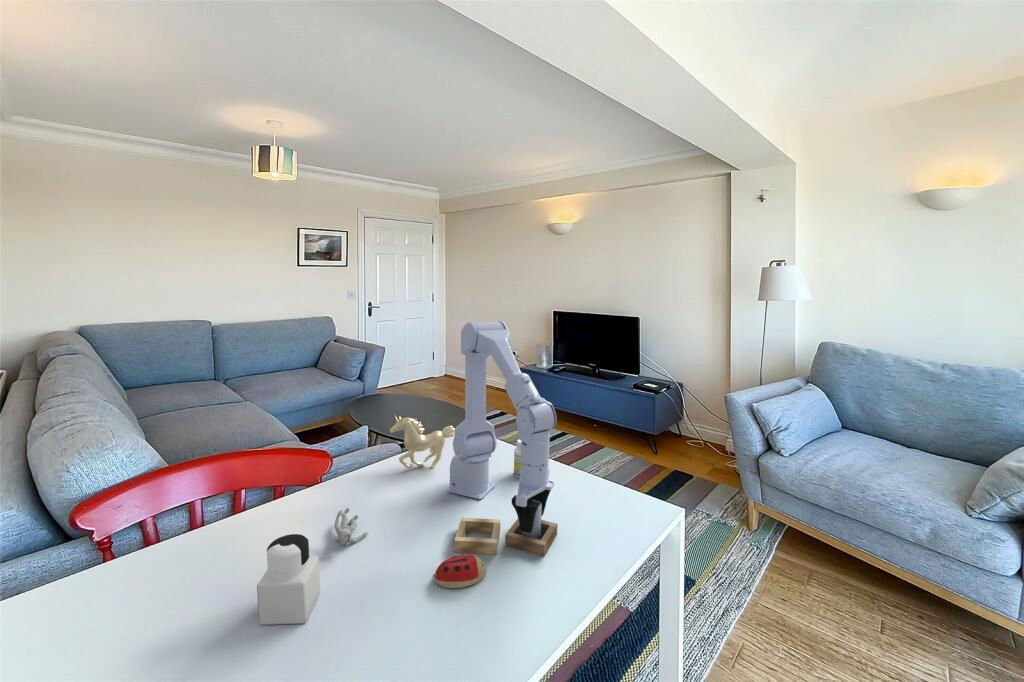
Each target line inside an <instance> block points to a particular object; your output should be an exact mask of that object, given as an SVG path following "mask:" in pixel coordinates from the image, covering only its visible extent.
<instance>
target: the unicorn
mask: <svg viewBox="0 0 1024 682" xmlns="http://www.w3.org/2000/svg"><path fill="white" fill-rule="evenodd" d="M393 416H394V418H395V424H394V425H392V427H390V429H389V432H390V434H394V433H395V432H397V431H402V430H403V432H404V435H403V436H404V439H403V444H404V448H406V449H407V450H408V451H407V452H406V453H405V454H402V455H401V456H399V458H398V461H399V463H401V464H402V465H403V466H404V467H405V468H406V469H412V468H414V467H415V466H414V465H416V466H417V467H424V466H425V465H424V463H425V462H427V461H428V460H430V459H431V458H433V457H435V459H434V460H433V461H432V463H431V465H430V469H434V468H436V467H435V466H436V465H437V464H438V463H439V462H440V460H441V458H442V452H443V449H444V447H445V444H446V439H447V438H452V437H453V438H454V436H455V428H456V427H454V426H453V425H447V426H445V427H443V429H441V431H440V430H434V431H432V432H431V433H429V434H423V433H424V432H425V430H426V429H425V428H423V427H424V425H423V424H422V421H417V419H418V418H417V417H416V418H411V417H401V416H399V418H397V416H396V413H393ZM426 450H429V452H430V454H428V455H427V456H426V457H425V458H424V460H423V463H422V462H418V461H415V455H414V454H415V453H420V452H424V451H426ZM407 458H409V459H410V462H411V463H412V464H411V463H409V464H408V463H406V461H404V460H405V459H407Z"/></svg>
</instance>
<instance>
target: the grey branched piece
mask: <svg viewBox="0 0 1024 682" xmlns="http://www.w3.org/2000/svg"><path fill="white" fill-rule="evenodd" d="M349 512H350V508H349V507H346V508H345V510H343V509H342V510H341V509H340V510H339V511H338V512H337V515H336V516H335V521H334V526H333V527H334V530H335V533H336V535H337V536H338V538H337V539H336V540H335V542H337V543H338V544H340V545H341V546H342V547H343V549H345V548H346V547H347V544H356V543H358V542H360V541H361V540H363V539H364V538H366V537H367V536H368V534H369V532H368V531H365V532H364V533H363V534H362V535H360V536H357V537H355V538H354V537H353V533H354V530H355V529H356V528H357V526H358V524H357V522H356V521H357V520H358V517H359V515H358V514H356V515H354V516H353V517H352V518H351V519H350V520H349V522H348V516H347V514H348V513H349ZM340 518H341V520H340ZM340 521H341V522H340ZM348 523H350V525H349V526H348Z"/></svg>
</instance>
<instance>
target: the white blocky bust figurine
mask: <svg viewBox="0 0 1024 682" xmlns="http://www.w3.org/2000/svg"><path fill="white" fill-rule="evenodd" d="M309 545H310V543H309V539H308V538H307V536H305V535H303V534H298V533H293V534H286V535H283V536H280V537H278V538H276V539H274V540H273V541H272V542H271V543H270V544H269V545H268V546H267V548H266V560H267V561H266V562H267V570H266V571H265V572H264V574H263V576H262V577H261V578H260V580H259V581H258V583H257V584H256V592H257V593H256V594H257V606H258V618H259V619H258V622H259V625H261V626H271V625H272V626H273V625H274V626H275V625H295V624H296V625H297V624H306V623H307V622H308V619H309V617H310V615H311V613H312V611H313V609H314V607H315V605H316V603H317V600H318V598H319V596H320V594H321V578H320V557H319V556H318V555H310V546H309Z"/></svg>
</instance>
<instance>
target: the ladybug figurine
mask: <svg viewBox="0 0 1024 682" xmlns="http://www.w3.org/2000/svg"><path fill="white" fill-rule="evenodd" d="M486 574H487V567H486V564H485V562H484V561H483V559H482V558H481V557H479V556H477V555H474V554H471V553H468V554H467V553H466V554H465V553H464V554H458V555H453V556H450V557H449V558H447V559H445V560H444V561H442V562H441V563H440V564H439V565H438V566H437V568H436V570H435V573H433V575H432V578H433V580H434V582H435V583H436V584H437V585H438V586H440V587H442V588H446V589H460V588H462V589H463V588H468V587H469V586H473V585H475V584H477V583H479V582H481V580H483V579H484V578H485V577H486Z"/></svg>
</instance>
